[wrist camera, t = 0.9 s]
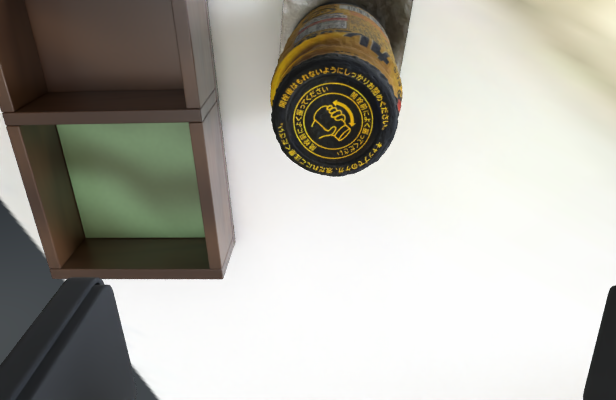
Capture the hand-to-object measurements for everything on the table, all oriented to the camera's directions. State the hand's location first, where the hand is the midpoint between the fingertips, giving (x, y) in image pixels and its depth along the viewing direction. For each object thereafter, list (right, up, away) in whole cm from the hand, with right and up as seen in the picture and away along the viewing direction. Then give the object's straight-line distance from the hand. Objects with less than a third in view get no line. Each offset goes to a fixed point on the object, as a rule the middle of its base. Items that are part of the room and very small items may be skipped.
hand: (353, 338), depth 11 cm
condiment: (+1, +12, +22) cm, 25 cm away
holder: (-12, +9, +24) cm, 29 cm away
